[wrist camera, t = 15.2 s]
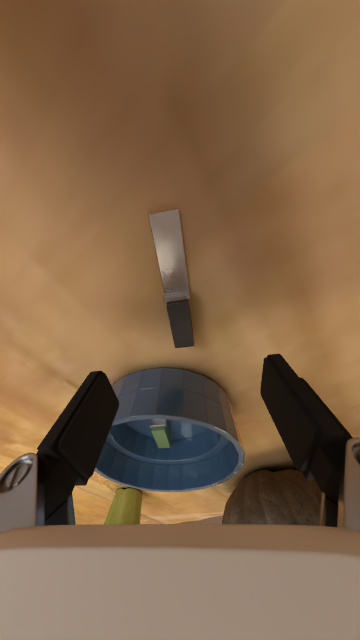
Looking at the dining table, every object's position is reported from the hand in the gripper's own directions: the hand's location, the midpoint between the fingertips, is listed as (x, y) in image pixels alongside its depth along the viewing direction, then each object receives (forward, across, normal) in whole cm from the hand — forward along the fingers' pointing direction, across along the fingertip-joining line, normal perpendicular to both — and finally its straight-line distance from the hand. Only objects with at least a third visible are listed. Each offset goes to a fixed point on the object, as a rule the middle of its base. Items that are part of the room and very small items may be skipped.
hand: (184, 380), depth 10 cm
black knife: (+7, 0, -4) cm, 8 cm away
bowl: (+7, +4, +14) cm, 16 cm away
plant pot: (+8, +19, +44) cm, 48 cm away
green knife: (+7, +6, +13) cm, 16 cm away
